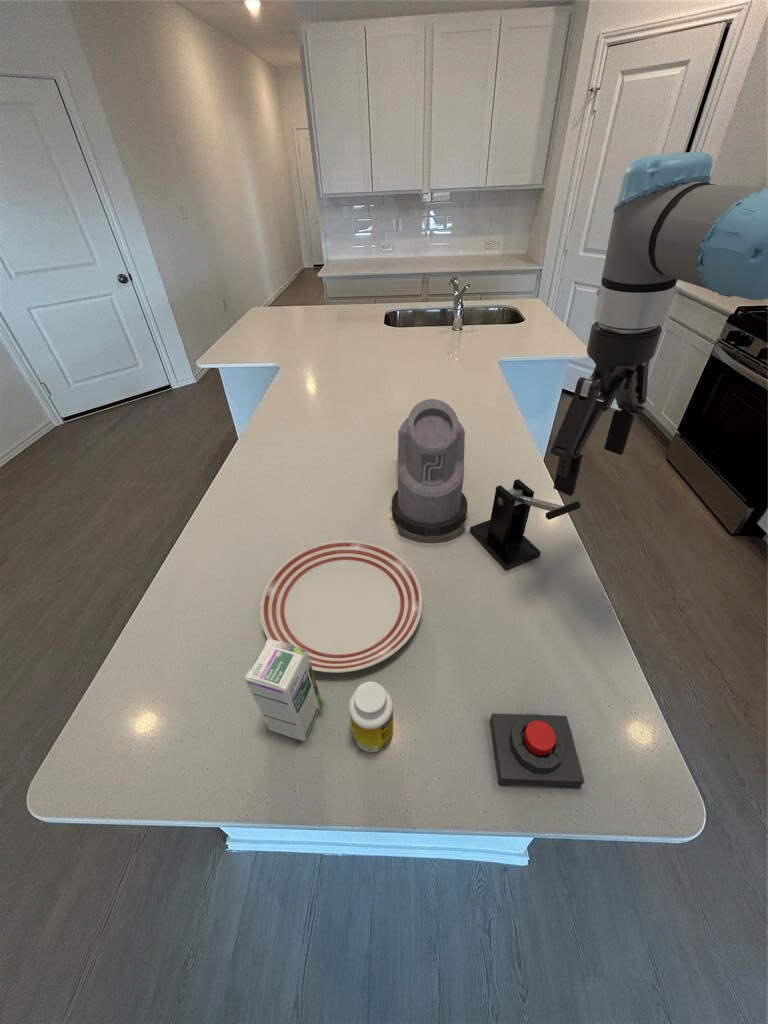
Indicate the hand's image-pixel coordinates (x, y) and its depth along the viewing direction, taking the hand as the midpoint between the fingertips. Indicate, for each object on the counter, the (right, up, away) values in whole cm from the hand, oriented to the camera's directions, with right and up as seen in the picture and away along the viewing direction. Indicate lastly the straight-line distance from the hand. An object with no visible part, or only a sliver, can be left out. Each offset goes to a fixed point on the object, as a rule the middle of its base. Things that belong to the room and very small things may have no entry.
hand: (589, 470), depth 65 cm
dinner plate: (-38, -23, +11) cm, 46 cm away
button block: (-11, -38, -7) cm, 40 cm away
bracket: (-7, -13, +22) cm, 26 cm away
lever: (-5, -6, +9) cm, 12 cm away
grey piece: (-21, -3, +34) cm, 40 cm away
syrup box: (-43, -36, -3) cm, 56 cm away
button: (-11, -35, -10) cm, 38 cm away
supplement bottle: (-32, -37, -5) cm, 49 cm away
